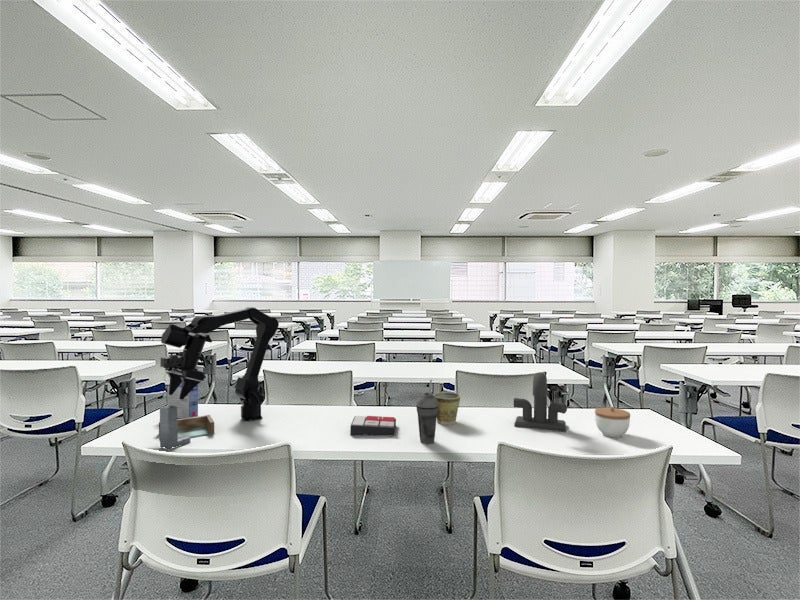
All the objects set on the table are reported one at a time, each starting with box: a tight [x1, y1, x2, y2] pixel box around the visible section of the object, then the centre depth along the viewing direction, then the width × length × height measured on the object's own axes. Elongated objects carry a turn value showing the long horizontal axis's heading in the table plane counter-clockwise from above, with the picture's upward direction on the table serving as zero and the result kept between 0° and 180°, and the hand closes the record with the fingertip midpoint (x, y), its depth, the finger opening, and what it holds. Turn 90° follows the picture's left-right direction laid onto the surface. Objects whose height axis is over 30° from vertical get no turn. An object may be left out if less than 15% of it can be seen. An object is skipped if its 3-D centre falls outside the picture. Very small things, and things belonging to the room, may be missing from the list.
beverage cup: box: [415, 379, 439, 445], centre depth 140 cm, size 7×7×20 cm
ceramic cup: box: [432, 391, 461, 426], centre depth 162 cm, size 13×10×10 cm
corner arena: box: [158, 414, 215, 439], centre depth 148 cm, size 16×10×4 cm, turn 122°
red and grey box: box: [349, 415, 397, 437], centre depth 151 cm, size 11×4×15 cm
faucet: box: [513, 372, 568, 433], centre depth 153 cm, size 18×16×20 cm
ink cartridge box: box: [166, 382, 199, 419], centre depth 168 cm, size 10×6×14 cm, turn 78°
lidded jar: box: [594, 406, 631, 439], centre depth 147 cm, size 11×11×9 cm
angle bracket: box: [159, 405, 191, 450], centre depth 137 cm, size 8×4×12 cm, turn 154°
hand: (175, 396), depth 145 cm, fingers open, 9 cm apart
